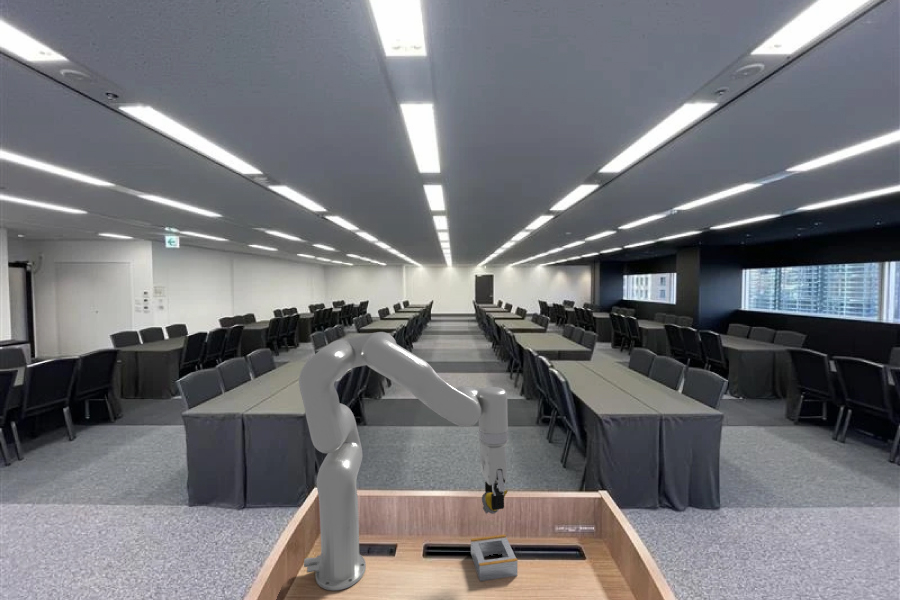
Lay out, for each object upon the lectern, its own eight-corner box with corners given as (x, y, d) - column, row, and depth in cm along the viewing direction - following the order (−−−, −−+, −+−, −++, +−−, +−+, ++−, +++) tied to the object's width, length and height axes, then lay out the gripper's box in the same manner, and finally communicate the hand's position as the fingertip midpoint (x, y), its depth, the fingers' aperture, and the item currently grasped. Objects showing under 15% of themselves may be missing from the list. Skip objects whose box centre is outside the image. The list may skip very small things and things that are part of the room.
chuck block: (479, 581, 99) (479, 564, 98) (470, 553, 109) (470, 538, 108) (517, 575, 100) (517, 559, 100) (505, 548, 110) (505, 534, 110)
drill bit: (490, 503, 108) (514, 486, 104) (490, 522, 103) (516, 504, 99) (475, 494, 106) (499, 476, 102) (474, 513, 102) (500, 495, 98)
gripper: (472, 424, 110) (473, 486, 111) (488, 451, 93) (489, 523, 94) (497, 422, 111) (498, 483, 113) (518, 448, 94) (519, 520, 96)
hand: (494, 501), depth 103 cm, fingers closed on drill bit, 5 cm apart
